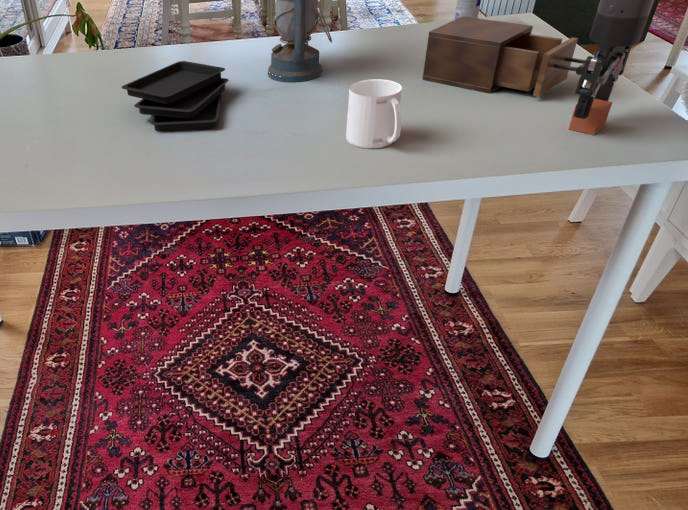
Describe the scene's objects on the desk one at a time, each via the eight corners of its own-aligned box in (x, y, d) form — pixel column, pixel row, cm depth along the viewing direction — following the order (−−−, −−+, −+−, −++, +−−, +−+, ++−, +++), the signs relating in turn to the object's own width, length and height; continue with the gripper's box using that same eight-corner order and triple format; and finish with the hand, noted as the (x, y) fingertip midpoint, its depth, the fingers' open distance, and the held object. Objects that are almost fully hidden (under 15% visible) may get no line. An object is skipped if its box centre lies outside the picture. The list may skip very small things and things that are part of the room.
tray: (241, 127, 128) (240, 101, 125) (126, 140, 127) (121, 114, 124) (223, 80, 151) (221, 56, 147) (125, 90, 150) (121, 67, 146)
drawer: (595, 84, 129) (608, 42, 124) (568, 102, 123) (581, 59, 118) (499, 67, 141) (507, 28, 136) (470, 83, 135) (477, 43, 130)
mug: (338, 134, 122) (341, 83, 116) (381, 126, 123) (387, 76, 117) (365, 158, 113) (370, 105, 107) (412, 150, 114) (419, 97, 108)
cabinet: (521, 74, 139) (533, 25, 133) (489, 93, 132) (500, 42, 126) (454, 62, 148) (462, 16, 142) (422, 79, 141) (429, 31, 135)
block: (604, 127, 116) (612, 102, 113) (593, 135, 114) (602, 109, 111) (578, 121, 119) (586, 97, 116) (568, 129, 116) (575, 104, 113)
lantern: (264, 62, 158) (263, -84, 139) (322, 58, 158) (329, -89, 138) (271, 88, 144) (270, -71, 124) (335, 84, 143) (344, -77, 123)
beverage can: (477, 35, 163) (490, -33, 153) (455, 37, 163) (467, -31, 153) (470, 29, 167) (482, -37, 157) (449, 31, 167) (459, -35, 157)
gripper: (631, 23, 98) (595, 127, 109) (664, 2, 105) (628, 102, 116) (581, 16, 102) (551, 117, 113) (616, -3, 109) (585, 94, 120)
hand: (590, 110), depth 114 cm, fingers open, 8 cm apart
